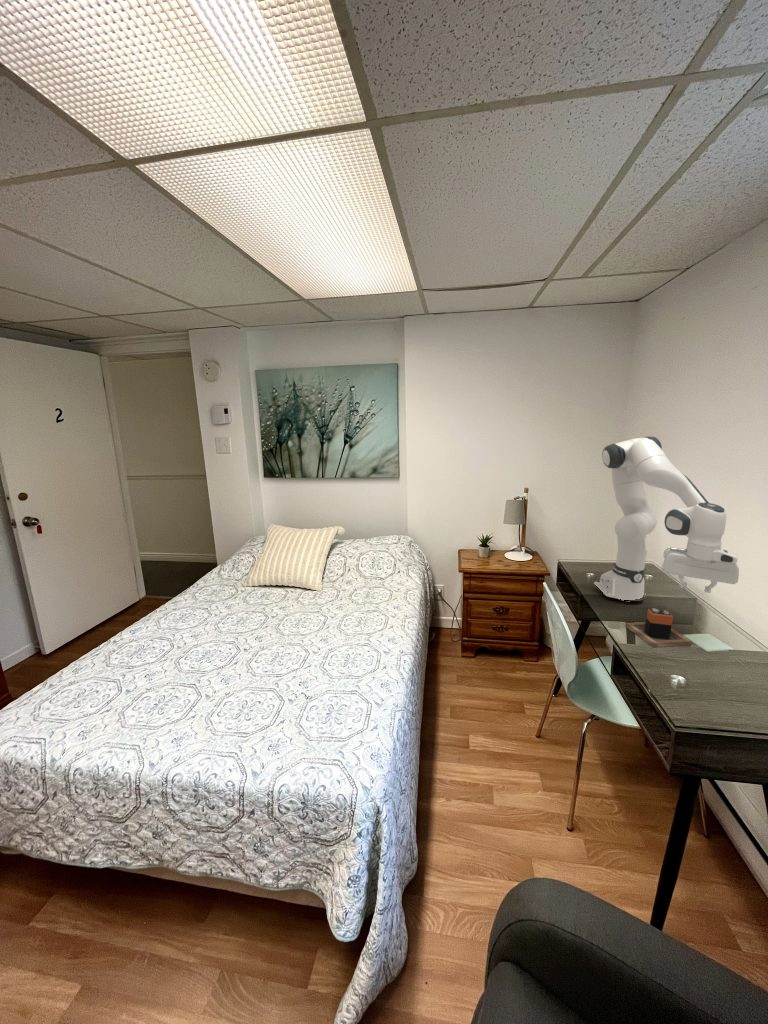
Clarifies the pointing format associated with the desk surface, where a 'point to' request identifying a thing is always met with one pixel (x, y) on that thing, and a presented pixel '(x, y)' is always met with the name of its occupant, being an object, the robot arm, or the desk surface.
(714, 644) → the pad
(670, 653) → the desk surface
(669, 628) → the battery
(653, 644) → the dock
